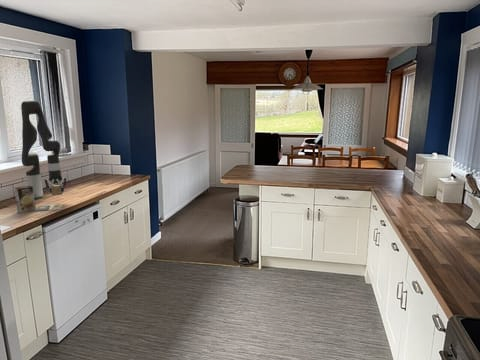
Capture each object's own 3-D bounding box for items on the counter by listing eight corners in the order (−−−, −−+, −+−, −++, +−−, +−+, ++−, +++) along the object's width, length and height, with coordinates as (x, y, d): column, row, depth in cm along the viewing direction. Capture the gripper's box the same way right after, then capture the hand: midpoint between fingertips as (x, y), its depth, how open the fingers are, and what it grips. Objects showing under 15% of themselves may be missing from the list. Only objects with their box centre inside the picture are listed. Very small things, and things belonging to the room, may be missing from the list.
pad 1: (38, 207, 242) (38, 206, 242) (49, 206, 244) (49, 205, 244) (35, 211, 233) (35, 210, 232) (47, 210, 235) (47, 209, 235)
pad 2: (51, 206, 244) (51, 205, 244) (62, 205, 247) (62, 204, 246) (49, 210, 235) (48, 208, 235) (60, 209, 237) (60, 207, 237)
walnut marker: (53, 193, 253) (52, 185, 251) (62, 192, 255) (61, 184, 253) (52, 195, 247) (51, 187, 246) (61, 194, 249) (60, 186, 248)
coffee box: (21, 213, 230) (17, 189, 226) (17, 211, 234) (13, 187, 230) (36, 209, 237) (32, 186, 233) (32, 208, 241) (28, 185, 237)
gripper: (66, 167, 253) (69, 190, 257) (43, 169, 248) (46, 192, 252) (65, 169, 246) (67, 193, 250) (41, 171, 241) (45, 194, 245)
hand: (57, 192), depth 251 cm, fingers closed on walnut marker, 6 cm apart
